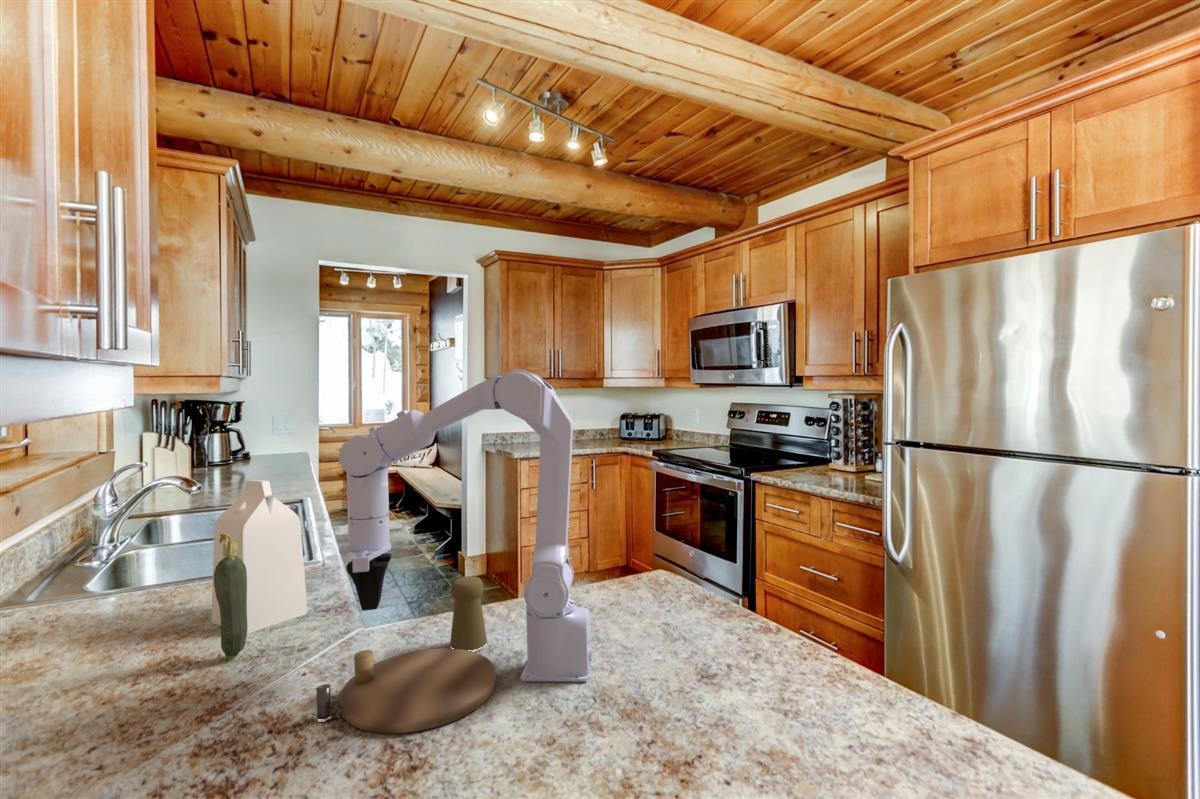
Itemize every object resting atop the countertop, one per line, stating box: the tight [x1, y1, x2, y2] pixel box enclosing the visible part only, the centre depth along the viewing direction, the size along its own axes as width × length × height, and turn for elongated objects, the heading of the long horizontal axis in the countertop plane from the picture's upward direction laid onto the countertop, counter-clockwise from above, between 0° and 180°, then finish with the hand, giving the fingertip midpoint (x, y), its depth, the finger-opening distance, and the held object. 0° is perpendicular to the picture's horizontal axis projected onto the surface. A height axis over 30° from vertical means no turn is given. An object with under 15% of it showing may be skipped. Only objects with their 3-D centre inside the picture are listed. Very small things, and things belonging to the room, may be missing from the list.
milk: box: [211, 478, 309, 635], centre depth 108 cm, size 12×12×26 cm
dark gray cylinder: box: [315, 683, 332, 719], centre depth 77 cm, size 17×14×4 cm
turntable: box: [340, 647, 497, 734], centre depth 78 cm, size 20×20×5 cm
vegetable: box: [214, 533, 248, 661], centre depth 89 cm, size 4×4×20 cm
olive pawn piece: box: [449, 575, 488, 651], centre depth 93 cm, size 6×6×11 cm
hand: (370, 607), depth 85 cm, fingers closed
